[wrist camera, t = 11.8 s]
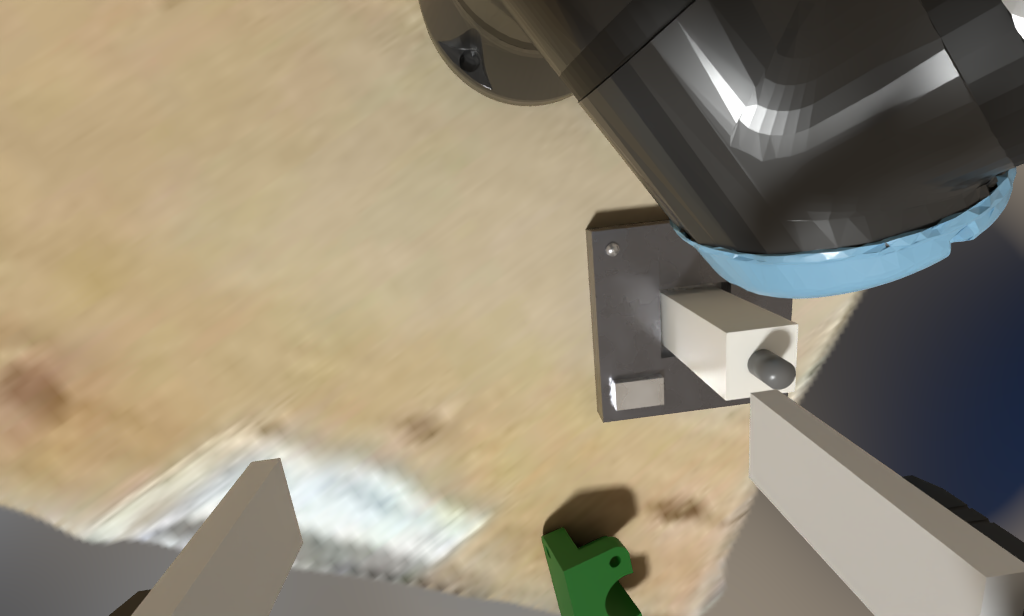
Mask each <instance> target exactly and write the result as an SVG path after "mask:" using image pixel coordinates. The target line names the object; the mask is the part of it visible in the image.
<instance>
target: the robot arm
mask: <svg viewBox="0 0 1024 616" xmlns="http://www.w3.org/2000/svg"><path fill="white" fill-rule="evenodd" d="M419 4H420V8H421V12H422V15H423V18H424V21H425V25H426V28H427V30H428V33H429V35H430V37H431V40H432V42H433V44H434V46H435V47H436V49H437V51H438V53H439V54H440V56H441V57H442V59H443V60H444V61H445V63H446V64H447V65H448V67H449V68H450V69H451V70H452V71H453V72H454V73H455V74H456V75H457V76H458V77H459V78H460V79H461V80H462V81H463V82H464V83H466V84H467V85H468V86H470V87H471V88H472V89H474V90H476V91H477V92H479V93H481V94H483V95H484V96H486V97H489V98H491V99H493V100H496V101H499V102H503V103H506V104H511V105H518V106H539V105H546V104H550V103H554V102H557V101H560V100H563V99H565V98H568V97H570V96H572V95H574V96H575V97H576V98H577V100H578V101H579V102H578V103H579V104H580V105H581V107H582V108H583V109H584V110H585V112H586V113H587V114H588V115H589V117H590V118H591V119H592V120H593V122H594V123H595V124H596V126H597V127H598V128H599V129H600V131H601V132H602V133H603V134H604V136H605V137H606V138H607V140H608V141H609V142H610V143H611V145H612V146H613V147H614V148H615V150H616V151H617V152H618V153H619V155H620V156H621V157H622V159H623V160H624V161H625V162H626V164H627V165H628V166H629V167H630V169H631V170H632V171H633V173H634V174H635V175H636V176H637V178H638V179H639V180H640V181H641V183H642V184H643V185H644V187H645V188H646V189H647V190H648V192H649V193H650V194H651V195H652V197H653V198H654V199H655V200H656V202H657V203H658V204H659V206H660V207H661V208H662V209H663V211H664V212H665V213H666V214H667V216H668V217H669V219H670V225H671V227H672V228H673V229H674V230H675V232H676V233H677V235H679V236H680V237H681V238H682V239H683V240H684V241H685V242H687V243H688V244H690V245H692V246H693V247H695V248H696V250H697V251H698V252H699V253H700V254H701V255H702V256H703V258H704V259H705V260H706V261H707V262H708V263H709V264H710V266H711V267H712V268H713V269H714V270H715V271H716V272H717V273H718V274H719V275H720V276H721V277H722V278H724V279H725V280H727V281H728V282H729V283H732V284H734V285H737V286H739V287H741V288H743V289H745V290H747V291H750V292H753V293H756V294H759V295H764V296H771V297H777V298H794V299H800V298H819V297H826V296H833V295H840V294H845V293H851V292H856V291H860V290H865V289H868V288H872V287H876V286H879V285H882V284H886V283H889V282H892V281H894V280H897V279H901V278H903V277H906V276H908V275H911V274H913V273H915V272H918V271H920V270H922V269H924V268H927V267H929V266H931V265H933V264H935V263H937V262H939V261H941V260H942V259H944V258H946V257H947V256H949V254H950V251H951V244H950V243H953V242H960V241H968V240H973V239H974V238H976V237H977V236H978V235H979V234H980V233H982V232H983V231H984V230H986V229H987V228H988V227H989V226H991V224H992V223H993V222H994V221H995V220H996V219H997V218H998V216H999V215H1000V214H1001V213H1002V211H1003V210H1004V208H1005V207H1006V205H1007V203H1008V200H1009V198H1010V195H1011V192H1012V189H1013V181H1014V178H1015V175H1016V166H1019V165H1021V164H1024V0H419ZM749 478H750V479H751V480H752V482H753V483H754V484H755V485H756V486H757V487H758V488H759V489H760V490H761V491H762V493H763V494H764V495H765V496H766V497H767V498H768V499H769V500H770V501H771V502H772V503H773V505H774V506H775V507H776V508H777V509H778V510H779V511H780V512H781V513H782V514H783V515H784V516H785V518H786V519H787V520H788V521H789V522H790V523H791V524H792V525H793V526H794V528H795V529H796V530H797V531H798V532H799V533H800V534H801V535H802V536H803V537H804V538H805V540H806V541H807V542H808V543H809V544H810V545H811V546H812V547H813V548H814V549H815V551H816V552H817V553H818V554H819V555H820V556H821V557H822V558H823V559H824V560H825V562H826V563H827V564H828V565H829V566H830V567H831V568H832V569H833V570H834V571H835V572H836V574H837V575H838V576H839V577H840V578H841V579H842V580H843V581H844V582H845V583H846V585H847V586H848V587H849V588H850V589H851V590H852V591H853V592H854V593H855V594H856V595H857V597H858V598H859V599H860V600H861V601H862V602H863V603H864V604H865V605H866V606H867V608H868V609H869V610H870V611H871V612H872V613H873V614H874V615H875V616H1024V542H1022V541H1021V540H1019V539H1018V538H1016V537H1014V536H1013V535H1012V534H1010V533H1009V532H1007V531H1006V530H1004V529H1003V528H1001V527H1000V526H998V525H997V524H995V523H990V522H989V520H988V518H986V517H985V516H983V515H982V514H980V513H979V512H977V511H975V510H974V509H972V508H971V509H969V508H968V507H967V504H965V503H964V502H962V501H961V500H959V499H958V498H956V497H955V496H953V495H951V494H950V493H949V492H947V491H946V490H944V489H943V488H940V487H938V486H936V485H933V484H931V483H929V482H926V481H924V480H921V479H919V478H917V477H914V476H905V477H901V476H899V475H898V474H897V473H895V472H894V471H892V470H891V469H890V468H888V467H887V466H885V465H884V464H882V463H881V462H880V461H878V460H877V459H875V458H874V457H873V456H871V455H870V454H868V453H867V452H865V451H864V450H863V449H861V448H860V447H858V446H857V445H855V444H854V443H852V442H851V441H850V440H848V439H847V438H845V437H844V436H842V435H841V434H840V433H838V432H837V431H835V430H834V429H832V428H831V427H830V426H828V425H827V424H825V423H824V422H823V421H821V420H820V419H818V418H817V417H816V416H814V415H813V414H811V413H810V412H808V411H807V410H806V409H804V408H803V407H801V406H800V405H798V404H797V403H796V402H794V401H793V400H791V399H790V398H788V397H787V396H786V395H784V394H783V393H781V392H780V391H778V390H777V389H775V390H767V391H760V392H753V393H750V443H749ZM302 544H303V541H302V537H301V533H300V530H299V526H298V522H297V519H296V515H295V511H294V507H293V504H292V500H291V496H290V493H289V489H288V485H287V481H286V478H285V474H284V470H283V467H282V463H281V459H280V458H277V459H270V460H262V461H255V462H251V463H250V465H249V466H248V467H247V468H246V470H245V471H244V472H243V474H242V475H241V476H240V477H239V479H238V480H237V481H236V482H235V484H234V485H233V486H232V488H231V489H230V490H229V491H228V493H227V494H226V495H225V497H224V498H223V499H222V500H221V502H220V503H219V504H218V505H217V507H216V508H215V509H214V511H213V512H212V513H211V514H210V516H209V517H208V518H207V519H206V521H205V522H204V523H203V525H202V526H201V527H200V528H199V530H198V531H197V532H196V534H195V535H194V536H193V537H192V539H191V540H190V541H189V542H188V544H187V545H186V546H185V548H184V549H183V550H182V551H181V553H180V554H179V555H178V557H177V558H176V559H175V560H174V562H173V563H172V564H171V565H170V567H169V568H168V569H167V571H166V572H165V573H164V574H163V576H162V577H161V578H160V579H159V581H158V582H157V583H156V585H155V586H154V587H153V588H152V589H151V590H145V591H139V592H137V593H136V594H135V595H133V596H132V597H131V598H130V599H129V600H127V601H126V602H125V603H124V604H122V605H121V606H120V607H119V608H117V609H116V610H115V611H114V612H113V613H111V614H110V615H109V616H269V614H270V612H271V610H272V607H273V605H274V603H275V601H276V599H277V597H278V595H279V593H280V591H281V588H282V586H283V584H284V582H285V580H286V578H287V576H288V574H289V571H290V569H291V567H292V565H293V563H294V561H295V559H296V557H297V554H298V552H299V550H300V548H301V546H302Z"/></svg>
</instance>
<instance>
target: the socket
mask: <svg viewBox="0 0 1024 616" xmlns="http://www.w3.org/2000/svg"><path fill="white" fill-rule="evenodd" d="M586 240H587V256H588V271H589V287H590V302H591V318H592V333H593V349H594V364H595V380H596V395H597V411H598V413H599V415H600V417H601V419H602V421H603V422H611V421H618V420H626V419H633V418H641V417H649V416H656V415H664V414H671V413H679V412H687V411H694V410H702V409H709V408H717V407H725V406H732V405H740V404H747V403H750V398H742V399H735V400H727V401H726V400H724V399H723V398H722V397H721V396H720V395H719V394H718V393H717V392H715V391H714V390H713V389H712V388H711V387H710V386H709V385H708V384H706V383H705V382H704V381H703V380H702V379H701V378H700V377H699V376H697V375H696V374H695V373H694V372H693V371H692V370H691V369H690V368H688V367H687V366H686V365H685V364H684V363H683V362H682V361H681V360H679V359H678V358H677V357H676V356H675V355H674V354H673V353H672V352H670V351H669V350H668V349H667V348H666V347H665V346H664V345H663V344H662V338H661V298H660V292H666V291H675V290H683V289H691V288H699V287H708V286H715V287H717V288H720V289H722V290H724V291H726V292H729V293H731V294H733V295H735V296H737V297H740V298H742V299H744V300H746V301H748V302H751V303H753V304H755V305H757V306H759V307H762V308H764V309H766V310H768V311H771V312H773V313H775V314H777V315H779V316H782V317H784V318H786V319H788V320H790V321H791V316H792V298H777V297H771V296H764V295H759V294H756V293H753V292H750V291H747V290H745V289H743V288H741V287H739V286H737V285H734V284H732V283H729V282H728V281H727V280H725V279H724V278H722V277H721V276H720V275H719V274H718V273H717V272H716V271H715V270H714V269H713V268H712V267H711V266H710V264H709V263H708V262H707V261H706V260H705V259H704V258H703V256H702V255H701V254H700V253H699V252H698V251H697V250H696V248H695V247H693V246H692V245H690V244H688V243H687V242H685V241H684V240H683V239H682V238H681V237H680V236H679V235H677V233H676V232H675V230H674V229H673V228H672V227H671V225H670V220H663V221H654V222H645V223H636V224H628V225H619V226H610V227H601V228H593V229H586ZM783 394H784V395H786V396H787V397H788V393H783Z"/></svg>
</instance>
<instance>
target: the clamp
mask: <svg viewBox="0 0 1024 616" xmlns="http://www.w3.org/2000/svg"><path fill="white" fill-rule="evenodd" d="M541 538H542V543H543V547H544V551H545V555H546V559H547V562H548V566H549V570H550V574H551V578H552V582H553V586H554V590H555V593H556V597H557V601H558V605H559V609H560V613H561V616H642V614H641V612H640V610H639V609H638V608H637V606H636V605H635V603H634V602H633V601H632V599H631V598H630V596H629V595H628V594H627V592H626V591H625V590H624V588H623V587H622V585H621V584H620V583H619V581H618V580H619V579H620V578H622V577H623V576H625V575H627V574H631V573H633V570H632V565H631V560H630V555H629V552H628V551H627V549H626V548H625V547H624V546H623V544H622V543H621V542H620V541H619V540H618V539H617V538H615V537H607V536H603V537H601V538H598V539H596V540H594V541H592V542H590V543H588V544H585V545H583V546H581V547H579V548H577V547H576V545H575V544H574V542H573V541H572V539H571V538H570V536H569V535H568V533H567V532H566V530H565V529H564V528H563V527H562V528H559V529H557V530H555V531H553V532H550V533H548V534H546V535H544V536H542V537H541Z"/></svg>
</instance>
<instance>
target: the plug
mask: <svg viewBox="0 0 1024 616" xmlns="http://www.w3.org/2000/svg"><path fill="white" fill-rule="evenodd" d="M660 298H661V338H662V344H663V345H664V346H665V347H666V348H667V349H668V350H669V351H670V352H672V353H673V354H674V355H675V356H676V357H677V358H678V359H679V360H681V361H682V362H683V363H684V364H685V365H686V366H687V367H688V368H690V369H691V370H692V371H693V372H694V373H695V374H696V375H697V376H699V377H700V378H701V379H702V380H703V381H704V382H705V383H706V384H708V385H709V386H710V387H711V388H712V389H713V390H714V391H715V392H717V393H718V394H719V395H720V396H721V397H722V398H723V399H724V400H726V401H727V400H735V399H742V398H750V393H753V392H760V391H767V390H775V389H777V390H778V391H780V392H781V393H788V392H795V379H796V359H797V340H798V324H797V323H795V322H793V321H790V320H788V319H786V318H784V317H782V316H779V315H777V314H775V313H773V312H771V311H768V310H766V309H764V308H762V307H759V306H757V305H755V304H753V303H751V302H748V301H746V300H744V299H742V298H740V297H737V296H735V295H733V294H731V293H729V292H726V291H724V290H722V289H720V288H717V287H715V286H708V287H699V288H691V289H683V290H675V291H666V292H660Z"/></svg>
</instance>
